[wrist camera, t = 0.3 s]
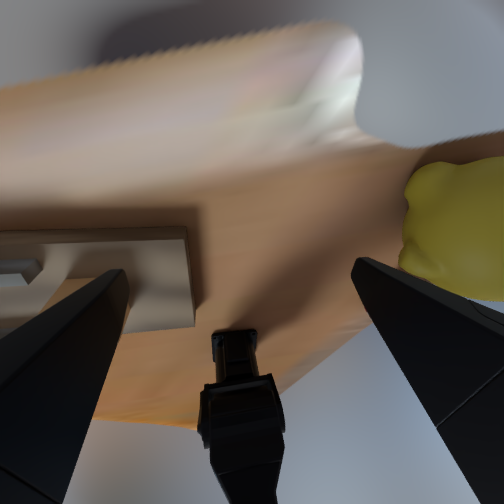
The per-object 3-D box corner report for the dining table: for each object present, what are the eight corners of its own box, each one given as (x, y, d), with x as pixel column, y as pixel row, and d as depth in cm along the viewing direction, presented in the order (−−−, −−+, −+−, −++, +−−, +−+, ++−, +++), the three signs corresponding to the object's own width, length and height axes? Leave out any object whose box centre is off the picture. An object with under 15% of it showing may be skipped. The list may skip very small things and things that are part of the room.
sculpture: (561, 114, 20) (778, 230, 13) (451, 213, 31) (536, 307, 23) (410, 124, 18) (566, 267, 11) (349, 226, 29) (407, 333, 21)
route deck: (195, 310, 29) (194, 341, 25) (-123, 338, 23) (-185, 383, 20) (185, 226, 22) (181, 251, 18) (-262, 237, 17) (-395, 276, 13)
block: (130, 309, 24) (118, 343, 20) (82, 313, 23) (62, 349, 19) (119, 276, 21) (103, 308, 18) (64, 279, 20) (37, 313, 17)
